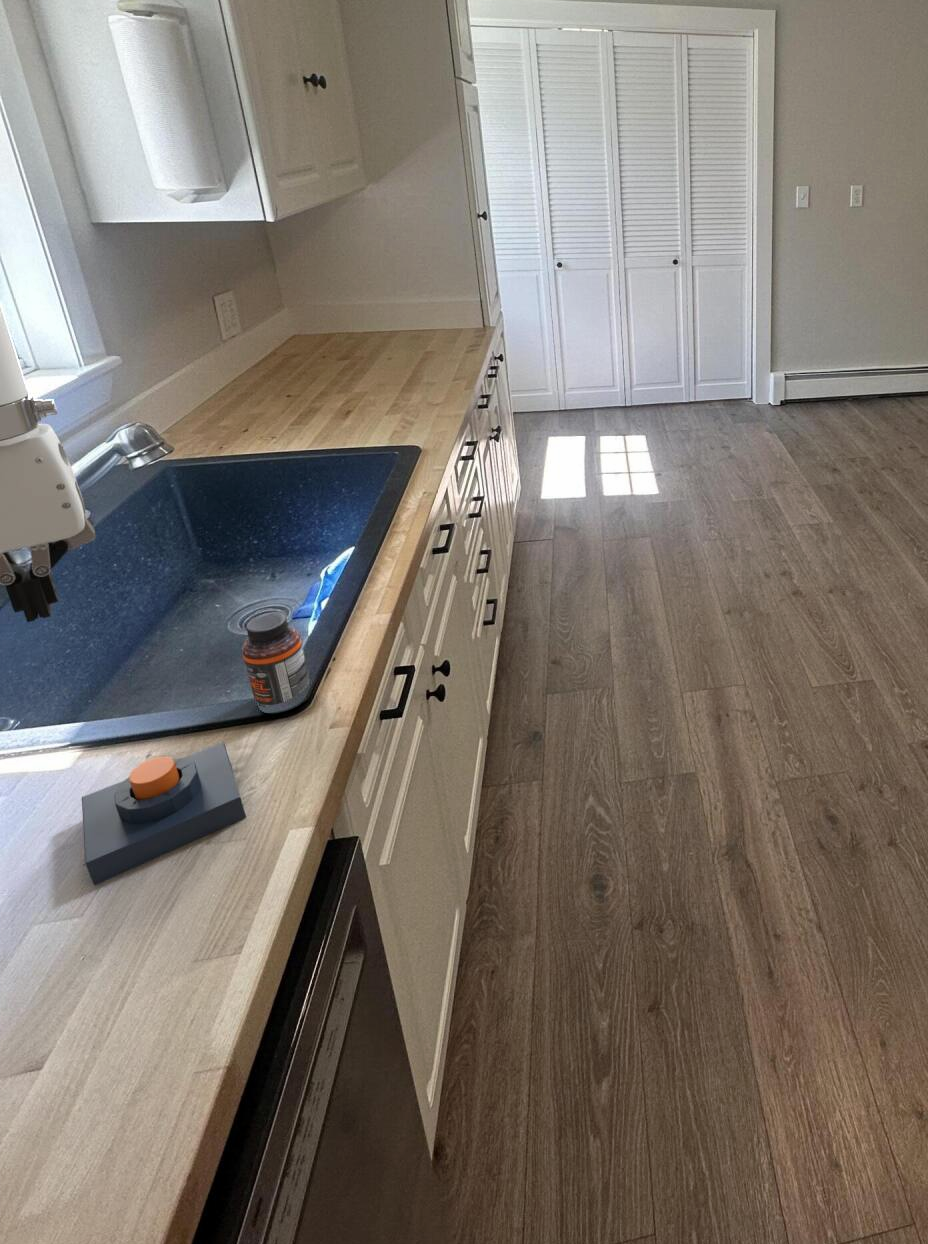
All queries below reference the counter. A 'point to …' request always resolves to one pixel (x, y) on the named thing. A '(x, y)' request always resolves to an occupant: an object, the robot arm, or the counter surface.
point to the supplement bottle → (274, 659)
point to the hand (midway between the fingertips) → (39, 612)
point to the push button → (154, 777)
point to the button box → (159, 815)
